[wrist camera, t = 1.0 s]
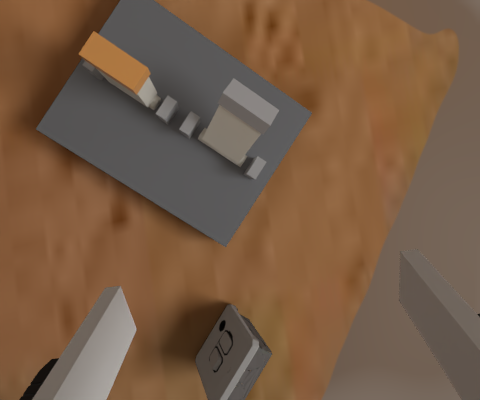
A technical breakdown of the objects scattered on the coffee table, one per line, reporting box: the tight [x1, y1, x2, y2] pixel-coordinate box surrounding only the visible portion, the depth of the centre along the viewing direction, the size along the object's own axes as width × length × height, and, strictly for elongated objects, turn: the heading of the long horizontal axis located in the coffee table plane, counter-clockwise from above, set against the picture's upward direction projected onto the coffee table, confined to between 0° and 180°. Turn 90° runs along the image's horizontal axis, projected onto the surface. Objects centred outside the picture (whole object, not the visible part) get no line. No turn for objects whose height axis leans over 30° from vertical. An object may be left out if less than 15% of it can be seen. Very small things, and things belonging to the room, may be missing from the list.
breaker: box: [198, 78, 279, 167], centre depth 35 cm, size 2×6×10 cm
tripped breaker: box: [79, 31, 161, 110], centre depth 33 cm, size 2×6×10 cm, turn 56°
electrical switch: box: [195, 304, 272, 400], centre depth 41 cm, size 9×5×9 cm, turn 148°
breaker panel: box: [36, 0, 312, 247], centre depth 39 cm, size 20×26×7 cm
